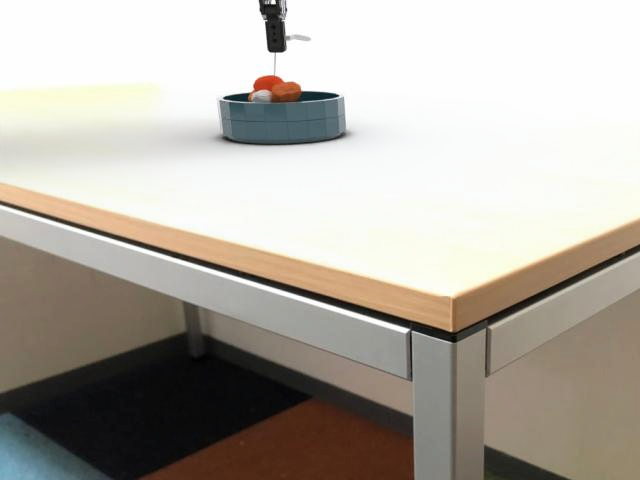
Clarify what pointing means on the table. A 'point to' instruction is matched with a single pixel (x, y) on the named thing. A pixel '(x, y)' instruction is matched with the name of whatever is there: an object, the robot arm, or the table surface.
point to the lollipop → (276, 85)
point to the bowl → (282, 118)
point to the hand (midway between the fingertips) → (277, 51)
